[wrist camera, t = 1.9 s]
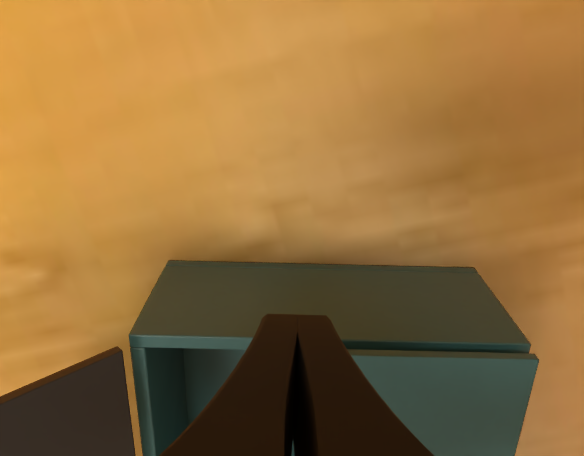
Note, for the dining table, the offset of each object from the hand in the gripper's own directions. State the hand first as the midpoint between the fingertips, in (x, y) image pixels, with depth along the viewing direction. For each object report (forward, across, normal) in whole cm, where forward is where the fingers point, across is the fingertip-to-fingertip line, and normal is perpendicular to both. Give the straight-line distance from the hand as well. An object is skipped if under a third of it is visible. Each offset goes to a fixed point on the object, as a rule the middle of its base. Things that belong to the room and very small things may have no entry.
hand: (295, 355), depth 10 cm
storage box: (+10, -1, +9) cm, 14 cm away
